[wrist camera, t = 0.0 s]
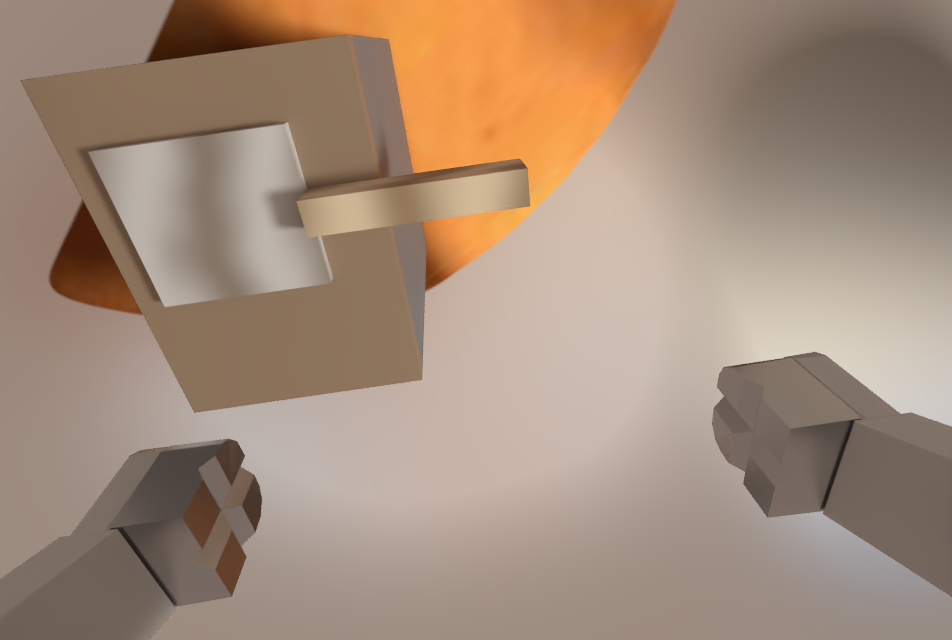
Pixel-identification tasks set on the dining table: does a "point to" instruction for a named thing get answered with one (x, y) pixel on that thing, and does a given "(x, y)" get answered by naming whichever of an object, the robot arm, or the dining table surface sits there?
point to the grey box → (323, 164)
